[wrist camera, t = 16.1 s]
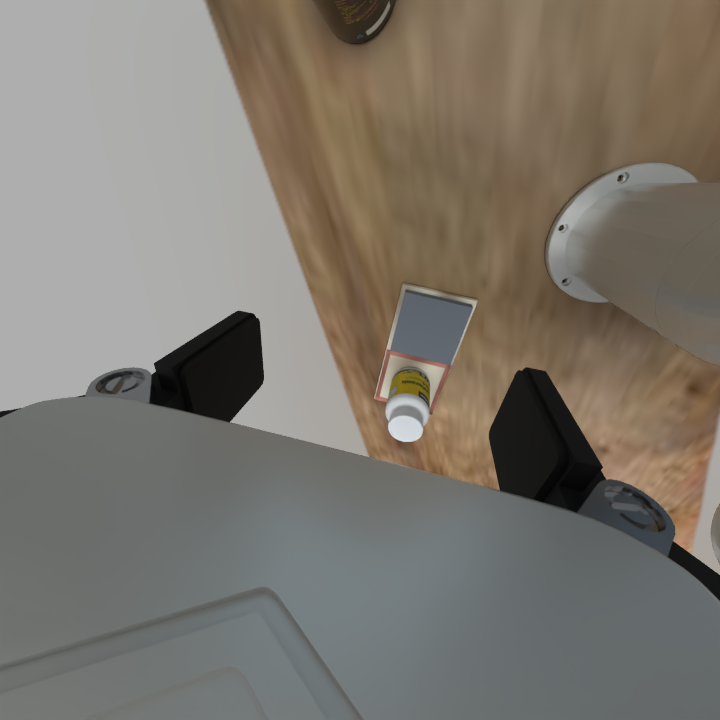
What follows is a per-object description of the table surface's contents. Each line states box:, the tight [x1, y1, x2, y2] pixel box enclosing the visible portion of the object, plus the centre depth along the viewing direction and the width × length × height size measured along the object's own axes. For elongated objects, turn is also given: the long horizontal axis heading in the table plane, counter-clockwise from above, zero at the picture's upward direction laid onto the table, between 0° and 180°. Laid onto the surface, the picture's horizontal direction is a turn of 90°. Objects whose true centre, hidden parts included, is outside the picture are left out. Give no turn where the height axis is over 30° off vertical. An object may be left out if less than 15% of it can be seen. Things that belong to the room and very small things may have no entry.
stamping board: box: [374, 282, 478, 415], centre depth 40 cm, size 9×18×1 cm, turn 170°
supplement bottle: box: [386, 368, 430, 442], centre depth 38 cm, size 5×5×10 cm
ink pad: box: [390, 289, 473, 365], centre depth 37 cm, size 8×8×1 cm
